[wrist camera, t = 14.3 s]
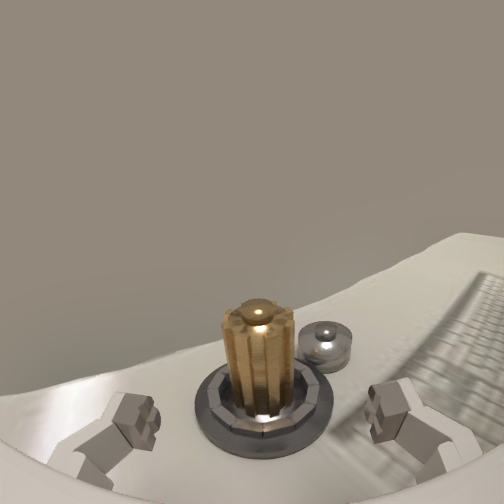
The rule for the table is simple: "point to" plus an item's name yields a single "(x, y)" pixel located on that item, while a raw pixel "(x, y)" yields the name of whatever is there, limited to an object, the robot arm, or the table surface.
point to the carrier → (265, 416)
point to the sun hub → (325, 345)
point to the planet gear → (260, 356)
